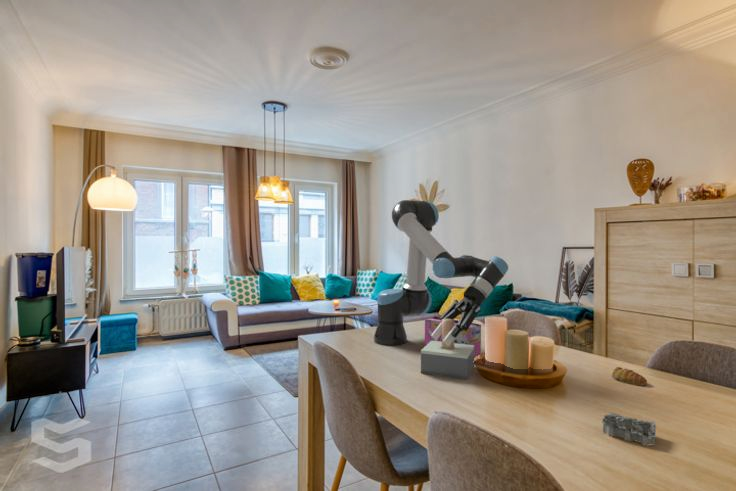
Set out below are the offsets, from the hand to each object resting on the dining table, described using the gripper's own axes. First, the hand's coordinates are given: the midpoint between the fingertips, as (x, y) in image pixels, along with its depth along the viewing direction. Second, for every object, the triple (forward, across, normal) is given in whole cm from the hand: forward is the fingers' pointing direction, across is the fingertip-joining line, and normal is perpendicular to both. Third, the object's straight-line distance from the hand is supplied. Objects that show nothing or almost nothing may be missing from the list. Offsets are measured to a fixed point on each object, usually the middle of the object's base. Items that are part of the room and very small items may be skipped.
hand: (439, 340), depth 138 cm
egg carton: (-4, -55, -21) cm, 59 cm away
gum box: (-3, +15, -19) cm, 24 cm away
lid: (0, 0, -5) cm, 5 cm away
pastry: (-29, -31, -46) cm, 62 cm away
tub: (+5, 0, -10) cm, 12 cm away
